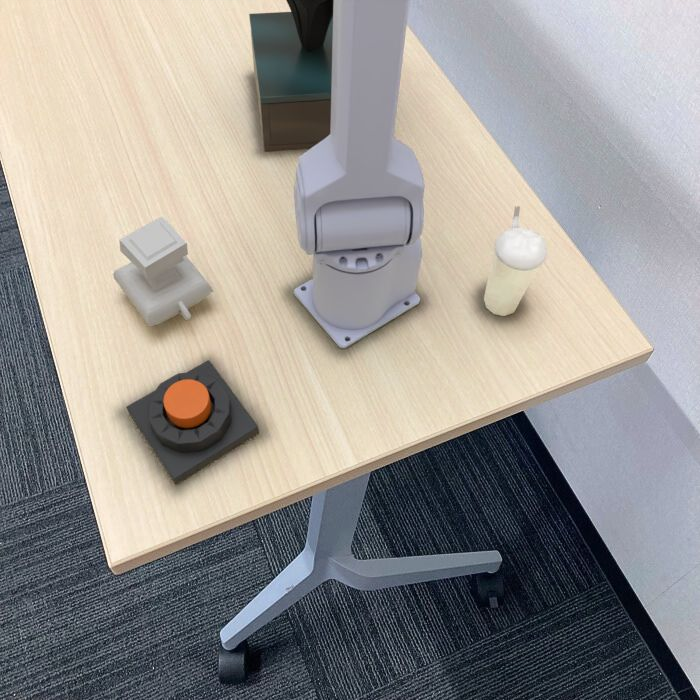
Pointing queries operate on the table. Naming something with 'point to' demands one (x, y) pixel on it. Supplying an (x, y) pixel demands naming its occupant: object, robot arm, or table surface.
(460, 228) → the table surface
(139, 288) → the stamp
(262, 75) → the lid
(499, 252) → the milkshake
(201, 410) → the button
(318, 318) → the robot arm
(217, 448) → the switch block
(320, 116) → the box
